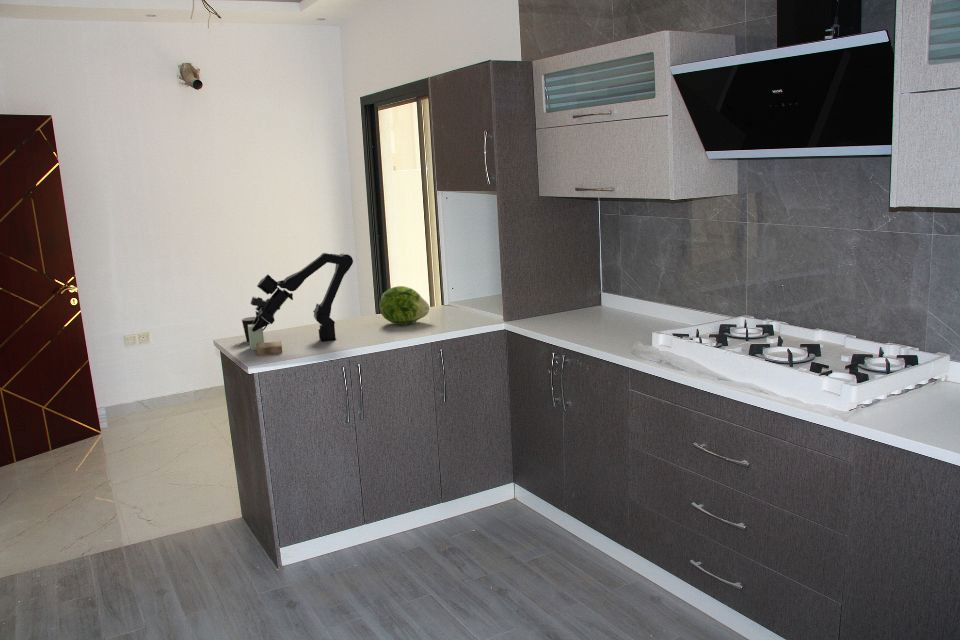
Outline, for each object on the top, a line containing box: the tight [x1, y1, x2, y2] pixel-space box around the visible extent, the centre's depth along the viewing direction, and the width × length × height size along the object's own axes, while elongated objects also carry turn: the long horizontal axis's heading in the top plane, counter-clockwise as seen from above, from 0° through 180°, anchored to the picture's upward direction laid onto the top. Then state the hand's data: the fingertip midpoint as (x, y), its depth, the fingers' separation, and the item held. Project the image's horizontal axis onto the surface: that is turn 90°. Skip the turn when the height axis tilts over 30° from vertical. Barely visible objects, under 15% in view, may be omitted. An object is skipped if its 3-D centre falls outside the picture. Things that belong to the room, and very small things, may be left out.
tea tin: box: [248, 324, 265, 351], centre depth 338 cm, size 6×6×10 cm
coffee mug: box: [241, 316, 268, 343], centre depth 354 cm, size 12×9×10 cm
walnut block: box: [256, 340, 283, 357], centre depth 330 cm, size 10×10×4 cm
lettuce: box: [379, 285, 430, 326], centre depth 374 cm, size 19×23×18 cm
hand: (252, 329), depth 337 cm, fingers closed on tea tin, 5 cm apart
